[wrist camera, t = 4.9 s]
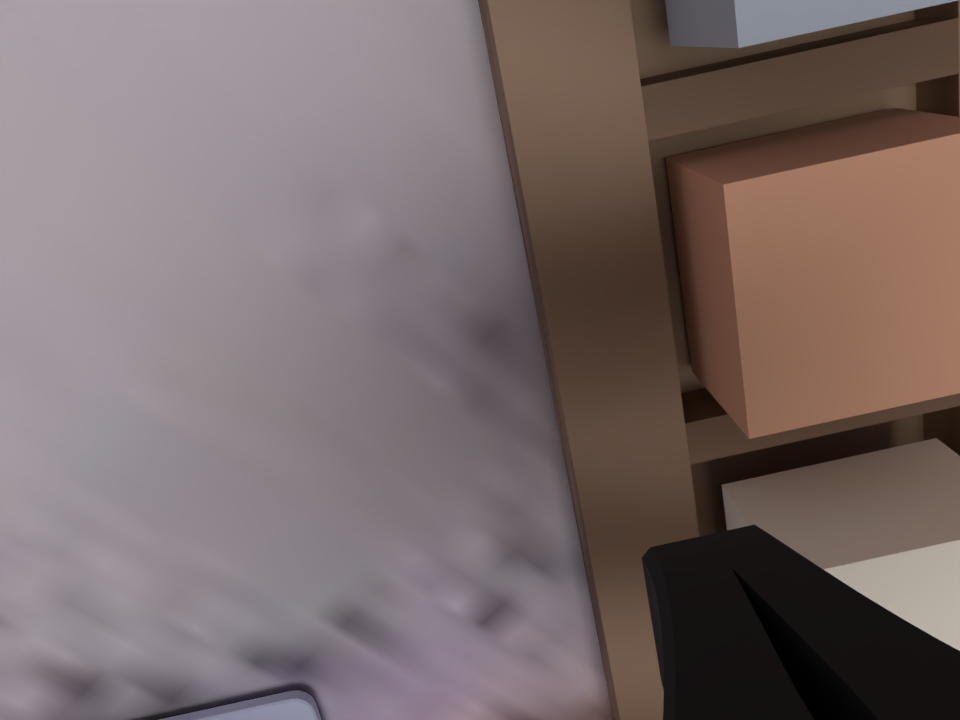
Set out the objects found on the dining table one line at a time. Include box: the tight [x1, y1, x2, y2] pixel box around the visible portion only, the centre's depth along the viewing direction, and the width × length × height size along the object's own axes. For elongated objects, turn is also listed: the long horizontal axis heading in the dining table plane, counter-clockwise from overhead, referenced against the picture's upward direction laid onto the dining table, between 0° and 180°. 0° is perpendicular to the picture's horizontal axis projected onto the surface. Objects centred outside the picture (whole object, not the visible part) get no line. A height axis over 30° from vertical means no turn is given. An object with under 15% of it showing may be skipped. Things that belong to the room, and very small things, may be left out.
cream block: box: [722, 438, 960, 651], centre depth 18 cm, size 5×5×4 cm
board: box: [478, 0, 960, 720], centre depth 18 cm, size 26×11×2 cm, turn 11°
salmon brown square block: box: [666, 108, 960, 439], centre depth 17 cm, size 5×5×4 cm
